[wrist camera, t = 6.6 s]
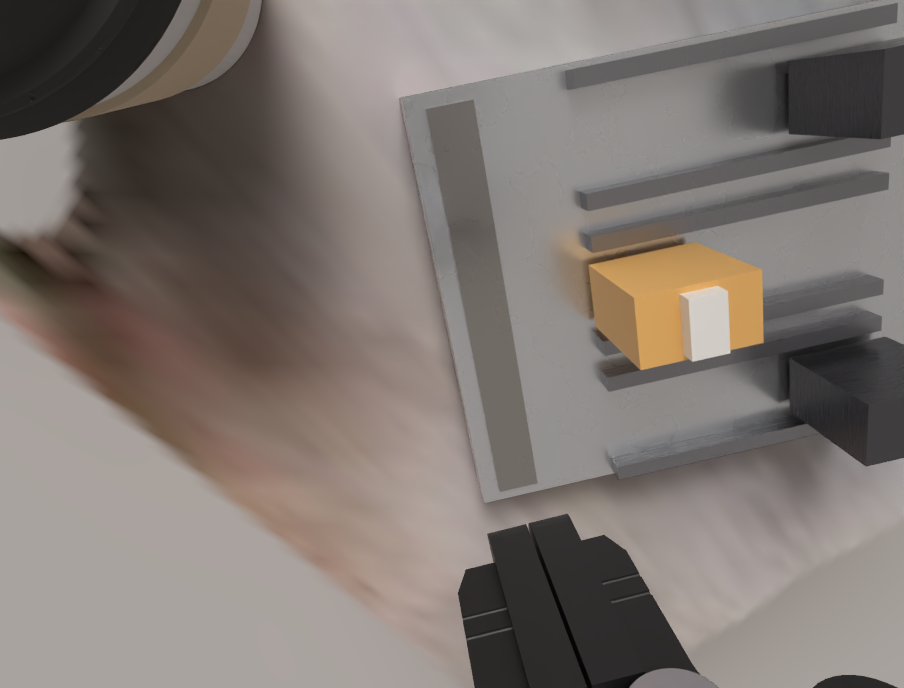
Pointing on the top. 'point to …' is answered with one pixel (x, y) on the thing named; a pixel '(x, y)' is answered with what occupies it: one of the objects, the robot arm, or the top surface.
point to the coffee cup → (111, 54)
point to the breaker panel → (674, 244)
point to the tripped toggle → (677, 304)
